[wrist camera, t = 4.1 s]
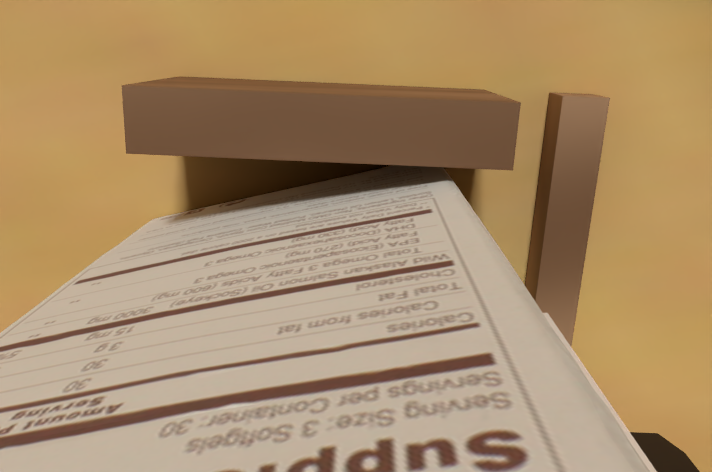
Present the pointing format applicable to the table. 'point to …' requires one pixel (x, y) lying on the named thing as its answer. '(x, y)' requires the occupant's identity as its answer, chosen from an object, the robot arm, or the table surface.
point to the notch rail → (393, 146)
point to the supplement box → (303, 346)
